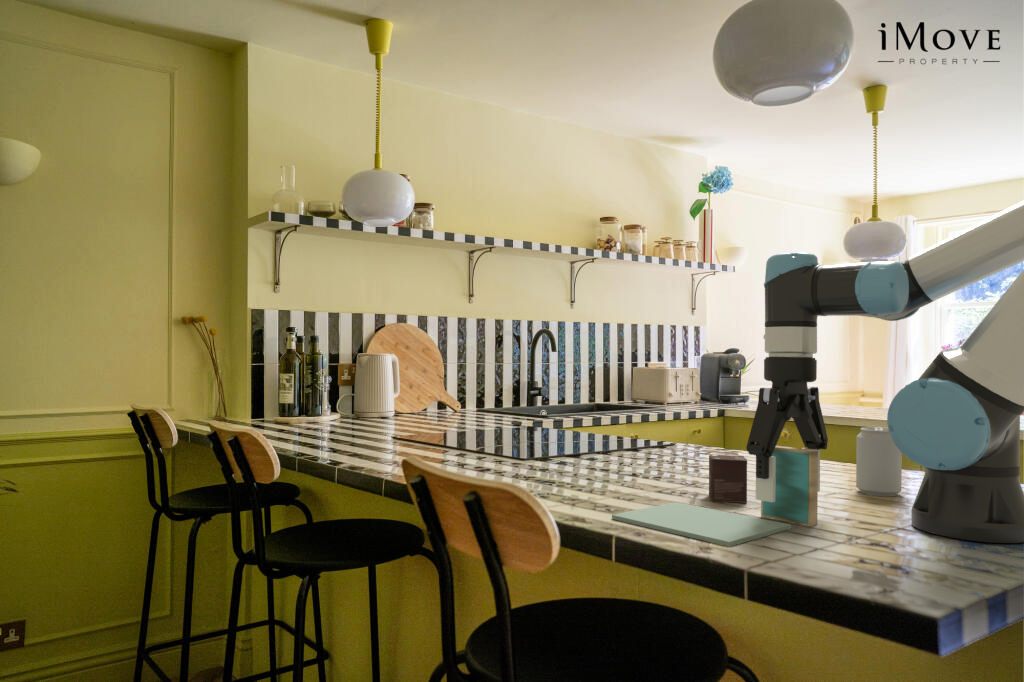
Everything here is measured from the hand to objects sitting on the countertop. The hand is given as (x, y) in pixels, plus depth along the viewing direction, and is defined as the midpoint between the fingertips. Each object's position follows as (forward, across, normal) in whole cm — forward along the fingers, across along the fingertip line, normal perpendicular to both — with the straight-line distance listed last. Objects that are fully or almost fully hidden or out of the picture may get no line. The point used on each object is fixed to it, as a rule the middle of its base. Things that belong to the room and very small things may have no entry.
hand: (788, 495), depth 111 cm
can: (+4, -35, -1) cm, 35 cm away
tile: (+4, 0, 0) cm, 4 cm away
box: (+4, -7, -15) cm, 17 cm away
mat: (+4, +13, -7) cm, 15 cm away
